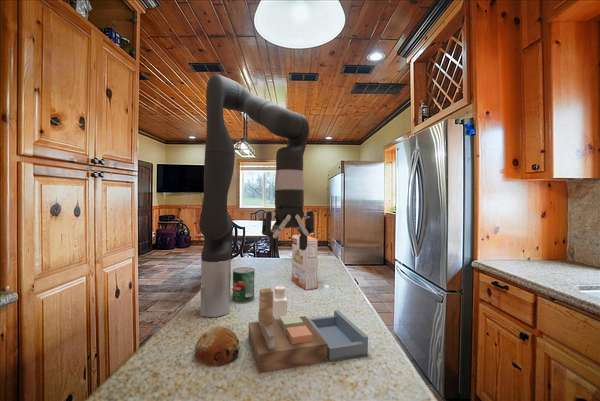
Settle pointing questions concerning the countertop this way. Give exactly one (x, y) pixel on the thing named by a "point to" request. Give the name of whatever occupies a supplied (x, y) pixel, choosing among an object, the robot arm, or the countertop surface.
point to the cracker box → (304, 263)
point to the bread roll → (217, 346)
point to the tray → (341, 336)
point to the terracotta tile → (299, 334)
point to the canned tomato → (243, 285)
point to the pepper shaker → (279, 303)
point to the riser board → (285, 348)
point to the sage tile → (290, 321)
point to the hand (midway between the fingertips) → (288, 251)
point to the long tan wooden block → (266, 316)
